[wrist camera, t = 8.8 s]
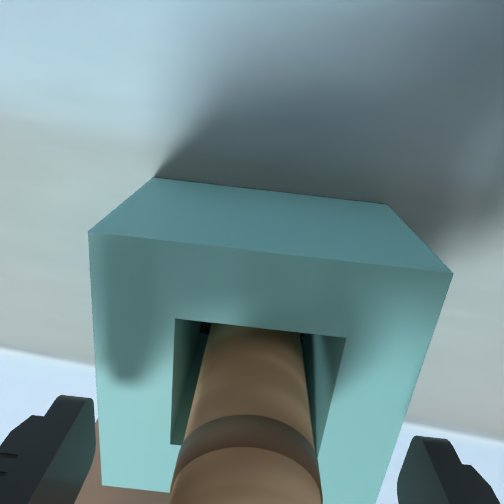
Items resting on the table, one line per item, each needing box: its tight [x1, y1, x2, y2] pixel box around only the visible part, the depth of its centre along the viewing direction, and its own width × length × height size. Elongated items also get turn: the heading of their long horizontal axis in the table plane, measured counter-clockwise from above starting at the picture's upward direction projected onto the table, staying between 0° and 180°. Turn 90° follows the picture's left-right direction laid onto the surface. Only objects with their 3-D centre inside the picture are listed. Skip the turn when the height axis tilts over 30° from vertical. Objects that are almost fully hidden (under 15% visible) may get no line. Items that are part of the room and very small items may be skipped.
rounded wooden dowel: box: [169, 323, 323, 504], centre depth 13 cm, size 3×3×10 cm
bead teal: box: [88, 178, 453, 504], centre depth 14 cm, size 9×9×6 cm
